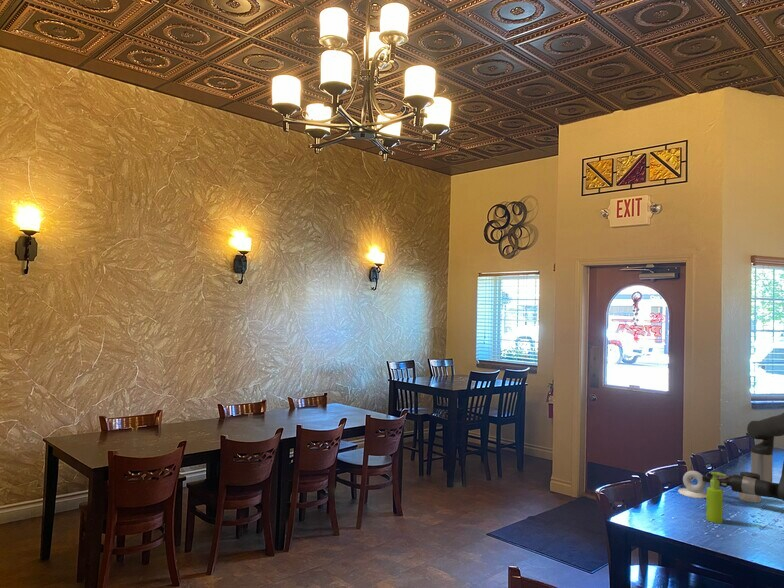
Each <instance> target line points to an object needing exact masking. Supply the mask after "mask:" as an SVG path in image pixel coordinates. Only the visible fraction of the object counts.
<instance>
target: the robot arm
mask: <svg viewBox="0 0 784 588" xmlns="http://www.w3.org/2000/svg"><path fill="white" fill-rule="evenodd" d="M746 431H747V432H746V433H747V435H748V436H749V437H750V438H752V439H754V440H762V441H761V442H760V443H756V444H753V445H752V446H751V447H750V472H751V473H755V474H758V475H760V480H759V479H754V478H751V477H746V476H741V475H740V474H732V475H728V474H725V475H726V476H722V475H717V480H718V481H720V488H721V487H723V488H727V487H728V486H729V487H731V491H732V492H737V493H739V492H740V493H745V494H750V495H758V496H761V498H762V497H764V498H772V499H776V500H781V501H783V502H784V461H783V463H782V468H781V475H780V476H781V477H780V479H779V482H778V483H777V482H773V468H774V467H773V465H774V464H773V459H774V457H773V454H774V453H773V451H774V445H775V444H774V442H775V437H781V436H784V412H783V413H782V412H781V414H778V415H774V416H770V417H767V418H764V419H761V420H751V421H749V422H748V424H747V427H746ZM706 475H707V476H704V475H703V477H702V481H704V482H706V483H709V484H710V480H711V479H713V474H711V472H707V474H706Z"/></svg>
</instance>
